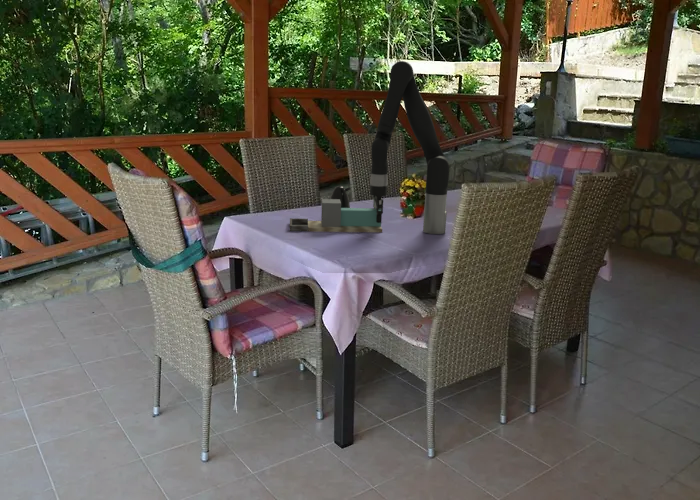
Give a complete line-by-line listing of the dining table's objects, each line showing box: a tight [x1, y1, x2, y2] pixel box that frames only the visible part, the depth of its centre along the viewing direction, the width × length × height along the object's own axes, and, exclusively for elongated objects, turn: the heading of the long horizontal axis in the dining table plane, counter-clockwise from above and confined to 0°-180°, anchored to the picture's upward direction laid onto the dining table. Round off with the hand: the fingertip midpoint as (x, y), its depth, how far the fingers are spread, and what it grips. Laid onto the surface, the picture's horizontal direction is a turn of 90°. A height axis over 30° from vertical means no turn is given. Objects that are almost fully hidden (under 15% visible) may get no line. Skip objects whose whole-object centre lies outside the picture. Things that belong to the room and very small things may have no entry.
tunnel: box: [320, 198, 341, 227], centre depth 276 cm, size 8×8×10 cm
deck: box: [289, 217, 383, 233], centre depth 278 cm, size 40×14×2 cm, turn 95°
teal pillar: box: [341, 207, 382, 227], centre depth 278 cm, size 18×5×7 cm, turn 95°
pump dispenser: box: [329, 185, 351, 208], centre depth 296 cm, size 10×10×15 cm
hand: (377, 220), depth 279 cm, fingers open, 8 cm apart
